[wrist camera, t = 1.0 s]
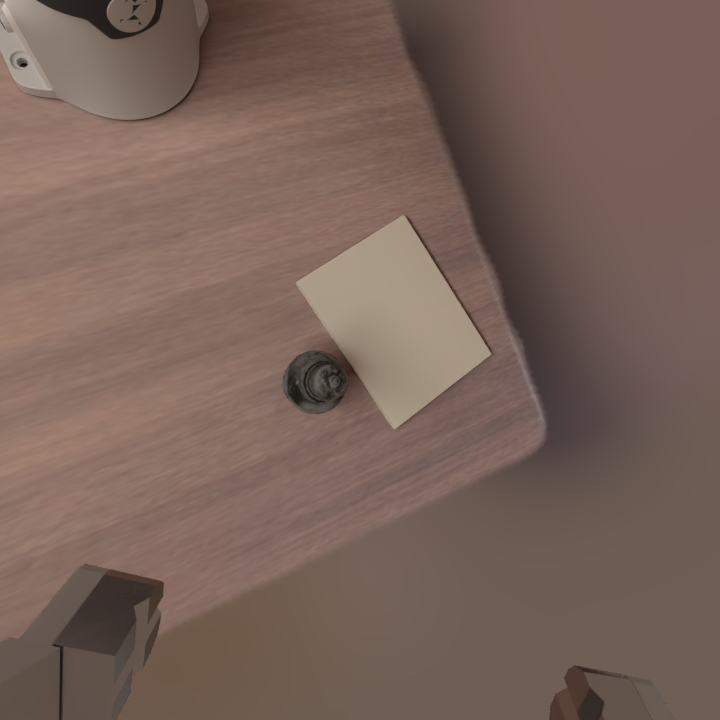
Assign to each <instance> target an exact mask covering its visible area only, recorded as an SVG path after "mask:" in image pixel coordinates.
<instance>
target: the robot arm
mask: <svg viewBox="0 0 720 720" xmlns="http://www.w3.org/2000/svg"><path fill="white" fill-rule="evenodd" d="M208 20H209V12H208V6H207V3H206V1H205V0H0V50H1V53H2V55H3V57H4V59H5V61H6V64H7V66H8V68H9V70H10V72H11V75H12V77H13V79H14V81H15V83H16V85H17V86H18V87H19V89H21V90H22V91H23V92H25V93H28V94H30V95H34V96H40V97H47V98H56V99H61V100H64V101H66V102H69V103H71V104H73V105H75V106H77V107H79V108H81V109H83V110H85V111H88V112H90V113H93V114H96V115H99V116H102V117H107V118H112V119H120V120H136V119H144V118H149V117H152V116H156V115H158V114H161V113H163V112H165V111H167V110H169V109H171V108H172V107H174V106H175V105H176V104H178V103H179V102H180V101H181V100H182V99H183V98H184V97H185V96H186V94H187V93H188V92H189V90H190V89H191V87H192V85H193V83H194V81H195V79H196V76H197V72H198V67H199V42H200V37H201V35H202V33H203V32H204V30H205V28H206V25H207V23H208ZM23 63H27V64H28V65H27V66H26V67H20V65H21V64H23ZM163 589H164V582H162V581H159V580H155V579H150V578H146V577H142V576H138V575H133V574H129V573H125V572H120V571H116V570H112V569H106V568H102V567H97V566H93V565H88V564H84V565H83V566H81V567H80V568H78V569H77V570H76V571H75V572H74V573H73V574H72V575H71V577H70V578H69V579H68V580H67V581H66V583H65V584H64V585H63V586H62V587H61V589H60V590H59V591H58V592H57V594H56V595H55V596H54V597H53V598H52V600H51V601H50V602H49V603H48V604H47V606H46V607H45V608H44V609H43V610H42V612H41V613H40V614H39V615H38V616H37V618H36V619H35V620H34V621H33V622H32V624H31V625H30V626H29V627H28V629H27V630H26V631H25V632H24V633H23V635H22V636H21V637H20V638H19V639H16V638H8V639H6V640H5V641H3V642H1V643H0V720H117V718H118V716H119V714H120V713H121V711H122V709H123V706H124V705H125V703H126V701H127V699H128V697H129V695H130V693H131V683H132V676H133V675H134V674H136V673H137V672H139V671H140V670H141V669H143V667H144V665H145V663H146V661H147V659H148V657H149V655H150V653H151V650H152V648H153V645H154V642H155V640H156V637H157V634H158V630H159V625H160V619H161V612H160V611H159V609H158V608H157V606H158V604H159V602H160V601H161V599H162V597H163ZM564 679H565V682H566V685H567V688H565V689H563V690H561V691H559V692H558V693H556V694H555V696H554V699H553V701H552V703H551V706H550V716H549V720H676V718H675V717H674V715H673V713H672V711H671V710H670V708H669V706H668V705H667V703H666V701H665V700H664V698H663V696H662V694H661V692H660V691H659V689H658V688H657V686H656V685H655V684H653V682H651V681H650V680H646V679H641V678H636V677H631V676H626V675H621V674H618V673H612V672H607V671H602V670H597V669H592V668H586V667H581V666H576V665H575V666H573V667H571V668H570V669H568V671H567V673H566V675H565V677H564Z"/></svg>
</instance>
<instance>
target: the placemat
mask: <svg viewBox="0 0 720 720" xmlns="http://www.w3.org/2000/svg"><path fill="white" fill-rule="evenodd" d="M296 285H297V286H298V288H299V289H300V291H301V292H302V294H303V295H304V297H305V298H306V300H307V301H308V303H309V304H310V306H311V307H312V309H313V310H314V312H315V313H316V315H317V316H318V318H319V319H320V321H321V322H322V324H323V325H324V327H325V328H326V330H327V331H328V333H329V334H330V336H331V337H332V339H333V340H334V342H335V343H336V345H337V346H338V348H339V349H340V351H341V352H342V354H343V355H344V357H345V358H346V360H347V361H348V362H349V364H350V365H351V367H352V368H353V370H354V371H355V373H356V374H357V376H358V377H359V379H360V380H361V382H362V383H363V385H364V386H365V388H366V389H367V391H368V392H369V394H370V395H371V397H372V398H373V400H374V401H375V403H376V404H377V406H378V407H379V409H380V410H381V412H382V413H383V415H384V416H385V418H386V419H387V421H388V422H389V424H390V425H391V427H392V428H393V429H396V428H397V427H399V426H400V425H401V424H402V423H404V422H405V421H406V420H408V419H409V418H410V417H411V416H413V415H414V414H415V413H417V412H418V411H419V410H420V409H422V408H423V407H424V406H426V405H427V404H428V403H429V402H431V401H432V400H433V399H435V398H436V397H437V396H438V395H440V394H441V393H442V392H444V391H445V390H446V389H447V388H449V387H450V386H451V385H453V384H454V383H455V382H456V381H458V380H459V379H460V378H462V377H463V376H464V375H465V374H467V373H468V372H469V371H471V370H472V369H473V368H474V367H476V366H477V365H478V364H480V363H481V362H482V361H483V360H485V359H486V358H487V357H489V356H490V355H491V352H490V351H489V349H488V347H487V346H486V344H485V343H484V341H483V340H482V338H481V336H480V335H479V333H478V332H477V330H476V328H475V327H474V325H473V324H472V322H471V320H470V319H469V317H468V316H467V314H466V312H465V311H464V309H463V308H462V306H461V304H460V303H459V301H458V300H457V298H456V296H455V295H454V293H453V292H452V290H451V289H450V287H449V285H448V284H447V282H446V281H445V279H444V277H443V276H442V274H441V273H440V271H439V269H438V268H437V266H436V265H435V263H434V261H433V260H432V258H431V257H430V255H429V253H428V252H427V250H426V249H425V247H424V245H423V244H422V242H421V241H420V239H419V237H418V236H417V234H416V233H415V231H414V230H413V228H412V226H411V225H410V223H409V222H408V220H407V218H406V217H405V215H403V216H401V217H399V218H398V219H396V220H395V221H393V222H391V223H390V224H388V225H387V226H385V227H383V228H382V229H380V230H379V231H377V232H375V233H374V234H372V235H371V236H369V237H367V238H366V239H364V240H363V241H361V242H359V243H358V244H356V245H355V246H353V247H351V248H350V249H348V250H347V251H345V252H343V253H342V254H340V255H339V256H337V257H335V258H334V259H332V260H331V261H329V262H327V263H326V264H324V265H323V266H321V267H319V268H318V269H316V270H315V271H313V272H311V273H310V274H308V275H307V276H305V277H303V278H302V279H300V280H299V281H297V282H296Z"/></svg>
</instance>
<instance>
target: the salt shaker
mask: <svg viewBox="0 0 720 720" xmlns="http://www.w3.org/2000/svg"><path fill="white" fill-rule="evenodd" d="M348 383H349V379H348V375H347V372H346V371H345V370H344V368H343V367H342V365H341V364H340V363H339V361H338V360H337V359H336V358H334V357H333V356H332V355H330V354H328V353H325V352H323V351H309V352H305V353H303V354H301V355H299V356H297V357H296V358H295V359H294V360H293V361H292V362H291V363H290V365H289V366H288V368H287V369H286V371H285V374H284V377H283V389H284V392H285V394H286V396H287V398H288V399H289V401H290V402H291V403H292V404H293V405H294V406H295V407H296V408H298V409H299V410H301V411H303V412H306V413H309V414H321V413H325V412H327V411H329V410H331V409H333V408H334V407H335V406H336V405H338V404H339V402H340V401H341V399H342V398H343V396H344V393H345V391H346V390H347V387H348Z"/></svg>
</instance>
